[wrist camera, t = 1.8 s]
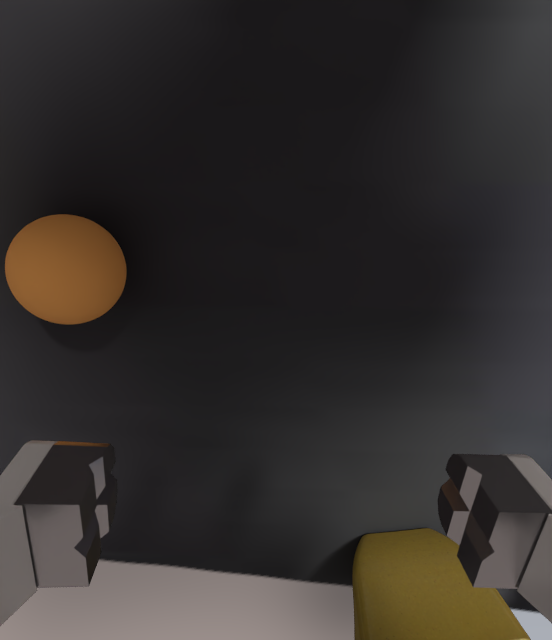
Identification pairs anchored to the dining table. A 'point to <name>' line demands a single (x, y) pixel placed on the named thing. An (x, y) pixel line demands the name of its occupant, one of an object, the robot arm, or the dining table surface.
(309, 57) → the dining table surface
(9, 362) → the dining table surface
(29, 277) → the ball
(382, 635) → the flower pot
